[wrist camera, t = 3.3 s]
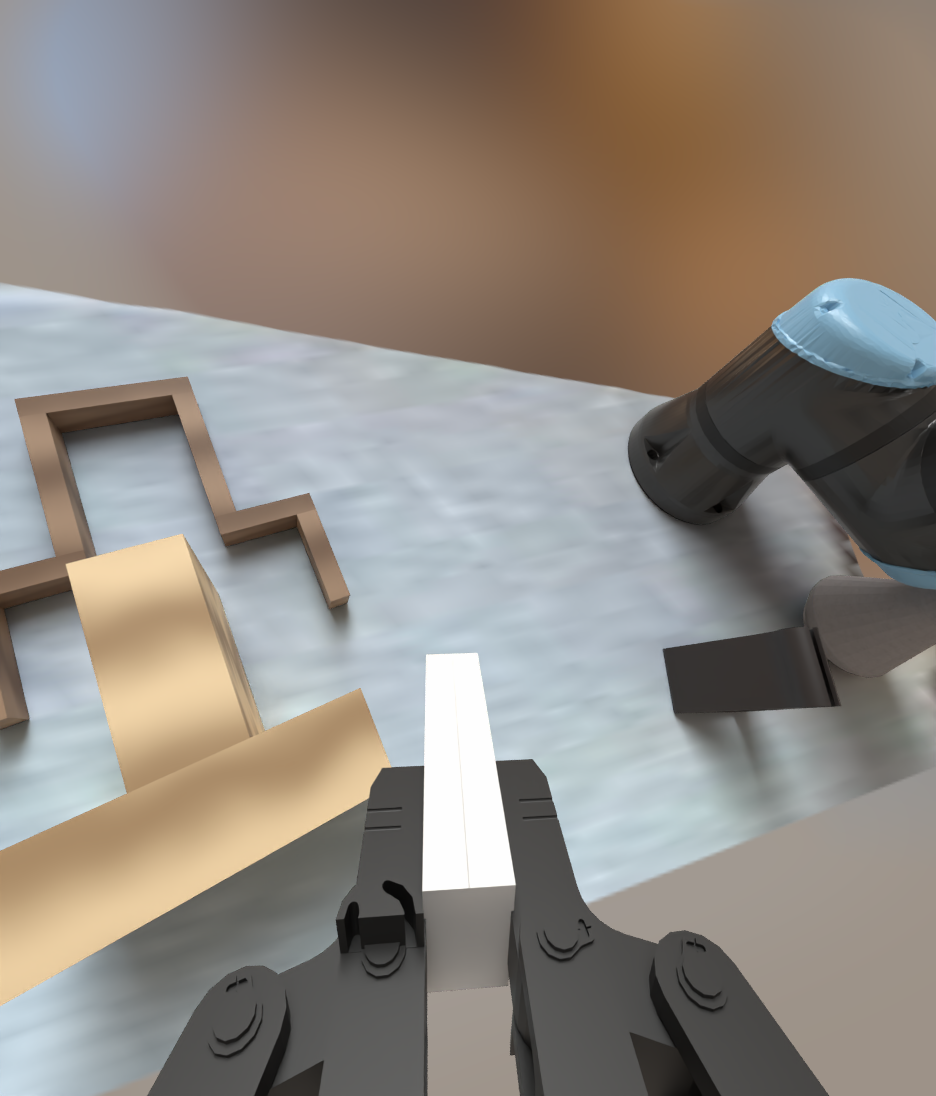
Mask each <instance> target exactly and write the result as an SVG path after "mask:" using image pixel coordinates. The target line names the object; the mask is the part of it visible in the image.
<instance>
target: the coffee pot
mask: <svg viewBox="0 0 936 1096" xmlns="http://www.w3.org/2000/svg"><path fill="white" fill-rule="evenodd" d="M803 622H804V627H805V626H808V628H809V630H811V629H813V628H812V627H818V631H819V634H820V637H821V641H822V644H823V647H824V651H825V654H826V657H827V659H828V660H830V661H831V662H832V663H833V664H835V665H836V666H838V667H839V668H841V669H843V670H845V671H846V672H848V673H852V674H855V675H859V676H863V677H868V678H871V677H878V676H882V675H883V674H885V673H887V672H889V671H890V670H892V669H894V668H895V667H897V666H899V665H901V664H902V663H904V662H906V661H907V660H909V659H911V658H912V657H914V656H916V655H918V654H919V653H921V652H923V651H924V650H926V649H928V648H930V647H931V646H933V645H935V644H936V589H924V588H917V587H913V586H909V585H906V584H903V583H901V582H898V581H896V580H893V579H880V578H867V577H856V576H843V575H834V576H829V577H826V578H824V579H822V580H820V581H819V582H818V583H817V584H816V585H815V586H814V587H813V589H812V590H811V591H810V593H809V596H808V599H807V602H806V604H805V607H804V610H803Z"/></svg>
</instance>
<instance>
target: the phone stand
mask: <svg viewBox="0 0 936 1096" xmlns="http://www.w3.org/2000/svg"><path fill="white" fill-rule="evenodd" d="M812 628H813V629H811V630H809V628H808V626H805V627H794V628H787V629H781V630H777V631H773V632H769V633H763V634H757V635H750V636H744V637H737V638H731V639H724V640H718V641H711V642H705V643H698V644H692V645H685V646H679V647H672V648H666V649H663V650H664V656H665V662H666V667H667V673H668V679H669V684H670V690H671V696H672V701H673V707H674V712H675V713H704V712H748V711H765V710H781V709H797V708H814V707H835V706H841V704H840V700H839V697H838V694H837V690H836V687H835V684H834V680H833V677H832V674H831V670H830V667H829V664H828V660H827V657H826V654H825V651H824V647H823V644H822V641H821V637H820V634H819V631H818V627H812Z"/></svg>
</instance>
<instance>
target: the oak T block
mask: <svg viewBox="0 0 936 1096" xmlns="http://www.w3.org/2000/svg"><path fill="white" fill-rule="evenodd" d="M66 567H67V571H68V575H69V579H70V582H71V586H72V590H73V594H74V597H75V601H76V605H77V609H78V612H79V616H80V620H81V623H82V627H83V631H84V635H85V638H86V642H87V646H88V650H89V653H90V657H91V661H92V665H93V668H94V672H95V676H96V680H97V683H98V687H99V691H100V694H101V698H102V702H103V706H104V709H105V713H106V717H107V721H108V724H109V728H110V732H111V736H112V739H113V743H114V747H115V751H116V754H117V758H118V762H119V765H120V769H121V773H122V777H123V780H124V784H125V788H126V792H127V794H125V795H123V796H121V797H118V798H116V799H114V800H112V801H110V802H107V803H105V804H103V805H101V806H98V807H96V808H94V809H92V810H90V811H87V812H85V813H83V814H81V815H79V816H76V817H74V818H72V819H70V820H68V821H65V822H63V823H61V824H59V825H57V826H54V827H52V828H50V829H48V830H45V831H43V832H41V833H39V834H37V835H34V836H32V837H30V838H28V839H26V840H23V841H21V842H19V843H17V844H15V845H12V846H10V847H8V848H6V849H4V850H1V851H0V1006H1V1005H3V1004H5V1003H6V1002H8V1001H10V1000H12V999H13V998H15V997H17V996H19V995H21V994H22V993H24V992H26V991H28V990H29V989H31V988H33V987H35V986H37V985H38V984H40V983H42V982H44V981H45V980H47V979H49V978H51V977H53V976H54V975H56V974H58V973H60V972H61V971H63V970H65V969H67V968H68V967H70V966H72V965H74V964H76V963H77V962H79V961H81V960H83V959H84V958H86V957H88V956H90V955H92V954H93V953H95V952H97V951H99V950H100V949H102V948H104V947H106V946H107V945H109V944H111V943H113V942H115V941H116V940H118V939H120V938H122V937H123V936H125V935H127V934H129V933H131V932H132V931H134V930H136V929H138V928H139V927H141V926H143V925H145V924H147V923H148V922H150V921H152V920H154V919H155V918H157V917H159V916H161V915H162V914H164V913H166V912H168V911H170V910H171V909H173V908H175V907H177V906H178V905H180V904H182V903H184V902H186V901H187V900H189V899H191V898H193V897H194V896H196V895H198V894H200V893H201V892H203V891H205V890H207V889H209V888H210V887H212V886H214V885H216V884H217V883H219V882H221V881H223V880H225V879H226V878H228V877H230V876H232V875H233V874H235V873H237V872H239V871H241V870H242V869H244V868H246V867H248V866H249V865H251V864H253V863H255V862H256V861H258V860H260V859H262V858H264V857H265V856H267V855H269V854H271V853H272V852H274V851H276V850H278V849H280V848H281V847H283V846H285V845H287V844H288V843H290V842H292V841H294V840H295V839H297V838H299V837H301V836H303V835H304V834H306V833H308V832H310V831H311V830H313V829H315V828H317V827H319V826H320V825H322V824H324V823H326V822H327V821H329V820H331V819H333V818H335V817H336V816H338V815H340V814H342V813H343V812H345V811H347V810H349V809H350V808H352V807H354V806H356V805H358V804H359V803H361V802H363V801H365V800H366V799H368V798H369V794H370V787H371V786H372V784H373V782H374V781H375V779H376V777H377V776H378V774H379V772H380V771H381V769H382V768H389V767H391V765H390V763H389V760H388V758H387V755H386V752H385V750H384V747H383V745H382V742H381V740H380V737H379V734H378V732H377V729H376V727H375V724H374V722H373V719H372V716H371V714H370V711H369V709H368V706H367V704H366V701H365V698H364V696H363V693H362V691H361V688H359V689H357V690H355V691H353V692H350V693H348V694H346V695H344V696H342V697H339V698H337V699H335V700H333V701H330V702H328V703H326V704H324V705H322V706H319V707H317V708H315V709H313V710H311V711H308V712H306V713H304V714H302V715H300V716H297V717H295V718H293V719H291V720H288V721H286V722H284V723H282V724H280V725H277V726H275V727H273V728H271V729H269V730H266V731H265V730H264V727H263V724H262V721H261V718H260V715H259V712H258V709H257V706H256V703H255V700H254V697H253V694H252V692H251V689H250V686H249V683H248V680H247V677H246V674H245V671H244V668H243V665H242V662H241V659H240V656H239V653H238V650H237V647H236V644H235V641H234V638H233V635H232V632H231V629H230V626H229V623H228V620H227V618H226V615H225V612H224V609H223V606H222V603H221V600H220V597H219V594H218V592H217V591H216V589H215V587H214V586H213V584H212V582H211V581H210V579H209V577H208V576H207V574H206V572H205V571H204V569H203V567H202V565H201V564H200V562H199V560H198V559H197V557H196V555H195V554H194V552H193V550H192V549H191V547H190V545H189V544H188V542H187V540H186V539H185V537H184V535H183V534H180V535H176V536H172V537H168V538H164V539H160V540H156V541H153V542H149V543H145V544H141V545H137V546H133V547H129V548H126V549H122V550H118V551H114V552H110V553H106V554H102V555H99V556H95V557H91V558H87V559H83V560H79V561H75V562H72V563H68V564H66Z"/></svg>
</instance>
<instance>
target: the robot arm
mask: <svg viewBox="0 0 936 1096" xmlns="http://www.w3.org/2000/svg"><path fill="white" fill-rule="evenodd" d="M628 452H629V459H630V463H631V466H632V469H633V472H634V474H635V476H636V478H637V480H638V482H639V483H640V485H641V487H642V488H643V490H644V491H645V492H646V494H647V495H648V496H649V497H650V498H651V499H652V500H653V501H654V502H655V503H656V504H657V505H658V506H659V507H660V508H661V509H663V510H664V511H665V512H667V513H668V514H670V515H672V516H674V517H675V518H677V519H680V520H682V521H685V522H688V523H693V524H708V523H712V522H715V521H717V520H719V519H721V518H723V517H725V516H726V515H728V514H730V513H732V512H733V511H735V510H736V509H737V508H738V507H739V506H740V505H741V504H742V503H743V502H744V501H745V500H746V498H747V497H748V496H749V495H750V494H751V493H752V492H753V491H754V490H755V489H756V488H757V486H758V485H759V484H760V483H761V482H762V481H763V480H764V479H765V478H766V477H767V476H768V475H769V474H770V473H772V472H774V471H776V470H778V469H779V468H781V467H783V466H785V465H787V464H789V465H790V466H791V467H792V468H793V469H794V471H795V472H796V473H797V474H798V475H799V476H800V477H801V479H802V480H803V481H804V482H805V483H806V484H807V486H808V487H809V488H810V489H811V490H812V492H813V493H814V494H815V495H816V496H817V498H818V499H819V500H820V501H821V502H822V503H823V505H824V506H825V507H826V508H827V509H828V511H829V512H830V513H831V514H832V515H833V517H834V518H835V519H836V520H837V521H838V523H839V524H840V525H841V526H842V527H843V529H844V530H845V531H846V532H847V533H848V534H849V536H850V537H851V538H852V539H853V540H854V542H855V543H856V544H857V545H858V546H859V548H860V550H861V551H862V553H863V554H864V555H865V556H867V557H868V558H869V559H870V560H872V561H873V562H875V563H876V564H877V565H878V566H879V567H880V568H881V569H882V570H883V571H884V572H885V573H886V574H887V575H889V576H890V577H891V578H893V579H895V580H896V581H898V582H901V583H903V584H906V585H909V586H913V587H917V588H924V589H936V321H935V320H933V318H931V317H930V316H929V315H928V314H927V313H926V312H925V311H923V310H922V309H921V308H920V307H918V306H917V305H915V304H914V303H912V302H911V301H909V300H908V299H906V298H905V297H903V296H901V295H900V294H898V293H896V292H894V291H892V290H890V289H888V288H886V287H883V286H882V285H879V284H876V283H872V282H870V281H866V280H861V279H852V278H845V279H837V280H833V281H830V282H827V283H825V284H823V285H821V286H819V287H818V288H816V289H815V290H814V291H812V292H811V293H810V294H808V295H807V296H806V297H805V298H803V299H802V300H801V301H800V302H799V303H797V304H796V305H795V306H793V307H792V308H791V309H790V310H788V311H786V312H783V313H782V314H780V315H779V316H778V317H777V318H776V319H775V320H774V321H773V324H772V326H771V327H770V328H768V330H766V331H765V332H764V333H763V334H761V335H760V336H759V337H758V338H757V339H756V340H755V341H753V342H752V343H751V344H750V345H749V346H747V347H746V348H745V349H744V350H743V351H741V352H740V353H739V354H738V355H737V356H736V357H734V358H733V359H732V360H731V361H730V362H729V363H727V364H726V365H725V366H724V367H723V368H722V369H720V370H719V371H718V372H717V373H716V374H715V375H713V376H712V377H711V378H710V379H709V380H708V381H707V382H705V383H704V384H703V385H702V386H701V387H699V388H698V389H696V390H694V391H691V392H689V393H687V394H684V395H682V396H680V397H677V398H675V399H673V400H670V401H668V402H666V403H663V404H661V405H659V406H657V407H655V408H653V409H652V410H650V411H649V412H648V413H647V414H646V415H645V416H644V417H643V418H642V419H640V420H639V421H638V422H637V423H636V424H635V426H634V427H633V429H632V431H631V434H630V437H629V443H628ZM336 925H337V932H338V938H337V939H336V941H335V942H334V943H333V944H332V945H331V946H329V947H328V948H327V949H326V950H325V951H324V952H323V953H321V954H319V955H318V956H316V957H314V958H312V959H311V960H309V961H307V962H304V963H302V964H300V965H298V966H296V967H293V968H291V969H289V970H287V971H285V972H283V973H280V974H277V973H276V972H274V971H272V970H270V969H268V968H267V967H265V966H246V967H244V968H241V969H239V970H237V971H235V972H232V973H230V974H228V975H227V976H225V977H224V978H223V979H222V980H221V981H220V982H218V983H217V984H216V985H215V986H214V987H212V988H211V989H210V990H209V991H208V993H207V994H206V996H205V997H204V998H203V1000H202V1001H201V1003H200V1004H199V1005H198V1007H197V1008H196V1009H195V1011H194V1013H193V1014H192V1016H191V1018H190V1020H189V1022H188V1023H187V1025H186V1027H185V1029H184V1031H183V1032H182V1034H181V1036H180V1038H179V1040H178V1041H177V1043H176V1045H175V1047H174V1049H173V1050H172V1052H171V1054H170V1056H169V1058H168V1059H167V1061H166V1063H165V1065H164V1067H163V1068H162V1070H161V1072H160V1074H159V1076H158V1077H157V1079H156V1081H155V1083H154V1085H153V1087H152V1088H151V1090H150V1092H149V1094H148V1096H427V1048H428V1047H427V1046H428V1044H427V1043H428V1042H427V1041H428V1040H427V993H430V992H442V991H453V990H465V989H477V988H488V987H501V986H508V980H509V979H510V988H511V995H512V1003H513V1015H512V1027H511V1042H510V1043H511V1044H510V1055H515V1058H516V1066H517V1074H518V1083H519V1091H520V1096H829V1095H828V1093H827V1092H826V1091H825V1089H824V1088H823V1086H822V1085H821V1084H820V1082H819V1081H818V1079H817V1078H816V1077H815V1075H814V1074H813V1072H812V1071H811V1070H810V1068H809V1067H808V1066H807V1064H806V1063H805V1061H804V1060H803V1059H802V1057H801V1056H800V1055H799V1053H798V1052H797V1050H796V1049H795V1047H794V1046H793V1045H792V1043H791V1042H790V1041H789V1039H788V1038H787V1036H786V1035H785V1033H784V1032H783V1031H782V1029H781V1028H780V1026H779V1025H778V1024H777V1022H776V1021H775V1019H774V1018H773V1017H772V1015H771V1014H770V1012H769V1011H768V1010H767V1008H766V1007H765V1005H764V1004H763V1003H762V1001H761V1000H760V999H759V997H758V996H757V994H756V993H755V992H754V990H753V989H752V987H751V986H750V985H749V983H748V982H747V980H746V979H745V978H744V976H743V975H742V973H741V972H740V971H739V969H738V968H737V966H736V965H735V964H734V963H733V962H732V960H731V959H730V958H729V957H728V956H727V955H726V954H725V953H724V952H723V950H722V949H721V948H720V947H719V946H717V945H716V944H714V943H713V942H711V941H710V940H708V939H707V938H705V937H704V936H702V935H699V934H695V933H692V932H689V931H685V930H684V931H677V932H670V933H669V934H668V935H666V936H665V937H664V938H663V939H661V940H660V941H659V944H656V943H653V942H649V941H646V940H643V939H640V938H636V937H633V936H629V935H626V934H623V933H621V932H619V931H616V930H614V929H612V928H610V927H609V926H607V925H606V924H604V923H603V922H601V921H600V920H599V919H598V918H597V917H596V916H595V915H594V914H593V913H592V912H591V911H590V910H589V908H588V907H587V905H586V904H585V902H584V901H583V899H582V897H581V895H580V892H579V890H578V887H577V884H576V880H575V877H574V873H573V870H572V866H571V863H570V859H569V856H568V852H567V849H566V845H565V842H564V838H563V834H562V831H561V827H560V824H559V820H558V819H557V813H556V810H555V806H554V803H553V802H552V796H551V792H550V789H549V785H548V781H547V778H546V776H545V775H544V773H543V772H542V771H541V770H540V768H539V767H538V766H537V764H536V763H535V762H534V761H533V759H528V760H507V761H495V756H494V750H493V744H492V738H491V732H490V726H489V719H488V713H487V707H486V701H485V695H484V689H483V683H482V677H481V671H480V665H479V659H478V653H464V654H431V655H426V699H425V760H424V766H410V767H389V768H382V769H381V771H380V772H379V774H378V776H377V777H376V779H375V781H374V782H373V784H372V786H371V787H370V794H369V801H368V808H367V815H366V822H365V832H364V836H363V843H362V850H361V857H360V864H359V870H358V877H357V884H356V885H355V886H354V887H353V888H352V889H351V891H350V892H349V893H348V895H347V896H346V897H345V898H344V900H343V901H342V903H341V906H340V909H339V912H338V915H337V918H336Z"/></svg>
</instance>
